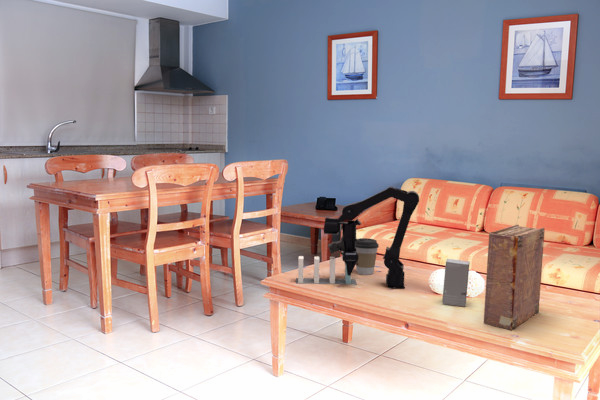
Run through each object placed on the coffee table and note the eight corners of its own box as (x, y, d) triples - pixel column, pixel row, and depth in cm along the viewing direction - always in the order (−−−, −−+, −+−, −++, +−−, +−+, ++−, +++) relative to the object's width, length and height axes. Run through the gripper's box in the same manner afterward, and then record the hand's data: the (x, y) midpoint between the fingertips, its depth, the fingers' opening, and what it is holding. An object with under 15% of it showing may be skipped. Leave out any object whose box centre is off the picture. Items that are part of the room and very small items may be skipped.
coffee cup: (349, 270, 238) (350, 237, 236) (374, 270, 239) (375, 237, 238) (355, 276, 227) (356, 242, 225) (380, 276, 228) (382, 242, 226)
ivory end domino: (303, 279, 220) (303, 256, 218) (303, 282, 215) (303, 258, 213) (298, 279, 220) (298, 256, 218) (298, 282, 215) (298, 258, 213)
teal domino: (349, 280, 220) (350, 257, 218) (350, 283, 215) (351, 259, 213) (344, 280, 220) (345, 256, 218) (345, 283, 215) (346, 259, 214)
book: (512, 306, 190) (517, 224, 186) (539, 312, 184) (545, 227, 180) (483, 323, 171) (488, 232, 168) (512, 331, 165) (518, 236, 161)
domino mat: (355, 279, 222) (355, 279, 222) (357, 285, 214) (357, 284, 214) (295, 278, 222) (295, 277, 222) (295, 284, 214) (295, 283, 214)
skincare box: (442, 304, 190) (444, 261, 188) (443, 299, 197) (445, 257, 195) (466, 307, 187) (468, 264, 186) (467, 301, 194) (469, 259, 192)
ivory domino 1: (318, 279, 220) (319, 256, 218) (318, 283, 215) (319, 259, 213) (313, 279, 220) (314, 256, 218) (314, 283, 215) (314, 259, 213)
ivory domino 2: (334, 280, 220) (334, 256, 218) (334, 283, 215) (335, 259, 213) (329, 280, 220) (329, 256, 218) (329, 283, 215) (330, 259, 213)
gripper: (328, 230, 224) (327, 266, 226) (330, 239, 206) (329, 278, 207) (354, 231, 224) (353, 267, 226) (359, 239, 206) (358, 278, 207)
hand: (348, 272), depth 217 cm, fingers open, 9 cm apart
